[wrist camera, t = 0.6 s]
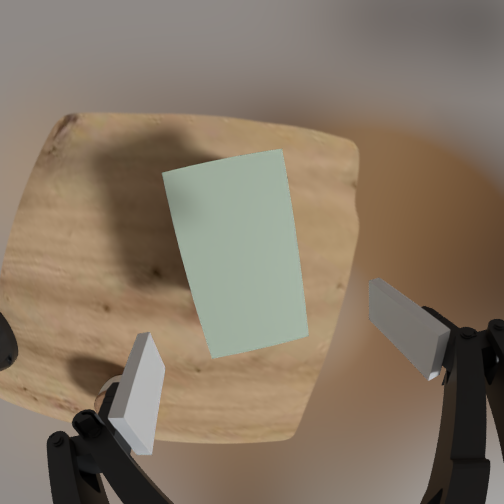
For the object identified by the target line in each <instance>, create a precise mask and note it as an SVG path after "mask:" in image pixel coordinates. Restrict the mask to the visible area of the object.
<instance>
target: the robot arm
mask: <svg viewBox="0 0 504 504" xmlns="http://www.w3.org/2000/svg"><path fill="white" fill-rule="evenodd" d="M369 319H370V321H371V322H372V323H373V324H374V325H375V326H376V327H377V328H378V329H379V330H380V331H381V332H382V333H383V334H384V335H385V336H386V337H387V338H388V339H389V340H390V341H391V342H392V343H393V344H394V345H395V346H396V347H397V348H398V349H399V350H400V351H401V352H402V354H404V356H405V357H406V358H407V359H408V360H409V361H410V362H411V363H412V364H413V365H414V366H415V367H416V368H417V369H418V370H419V371H420V372H421V373H422V374H423V376H424V377H425V378H426V379H427V380H428V381H429V380H431V379H433V378H434V377H436V376H438V375H439V374H440V371H441V368H442V366H444V367H445V368H446V373H445V376H444V380H443V382H442V385H444V397H443V407H442V416H441V424H440V431H439V437H438V443H437V448H436V454H435V458H434V463H433V468H432V472H431V476H430V480H429V484H428V487H427V490H426V492H425V494H424V496H423V499H422V501H421V503H420V504H485V501H486V495H487V489H488V483H489V475H490V461H489V460H488V459H486V458H485V449H486V395H487V398H488V401H489V405H490V408H491V411H492V414H493V418H494V422H495V425H496V429H497V433H498V437H499V442H500V446H501V451H502V456H503V461H504V321H503V320H501V319H494V320H491V321H490V322H489V324H488V328H487V330H483V331H479V332H477V331H476V330H475V329H473V328H470V327H463V328H458V327H457V326H456V325H454V324H453V323H452V322H450V321H449V320H448V319H446V318H445V317H443V316H442V315H441V314H439V313H438V312H436V311H435V310H434V309H432V308H429V307H426V306H423V307H420V306H418V305H417V304H416V303H414V302H413V301H411V300H410V299H409V298H407V297H406V296H405V295H403V294H402V293H400V292H399V291H398V290H396V289H395V288H393V287H392V286H391V285H389V284H388V283H386V282H385V281H383V280H382V279H380V278H376V279H373V280H370V281H369ZM17 356H18V346H17V342H16V339H15V336H14V334H13V331H12V329H11V327H10V326H9V324H8V322H7V321H6V319H5V318H4V317H3V315H2V314H1V313H0V371H2V370H4V369H7V368H9V367H10V366H11V365H12V364H13V363H14V362H15V360H16V359H17ZM164 374H165V366H164V364H163V362H162V360H161V357H160V355H159V353H158V350H157V348H156V346H155V343H154V341H153V339H152V336H151V334H150V332H146V333H140V334H138V335H137V337H136V340H135V342H134V345H133V348H132V350H131V353H130V355H129V358H128V361H127V363H126V366H125V369H124V372H123V374H122V377H121V380H120V382H113V383H112V384H111V385H110V386H109V388H108V389H107V391H106V393H105V396H104V397H105V398H104V399H103V401H102V404H101V407H100V410H99V412H98V414H97V413H96V412H95V411H94V410H90V409H88V410H83V411H80V412H79V413H78V414H76V415H75V417H74V418H73V421H72V426H73V428H74V429H75V430H76V431H77V432H78V434H79V435H78V436H74V437H69V436H68V435H67V434H66V433H65V432H63V431H57V432H55V433H53V434H52V435H51V436H49V438H48V440H47V458H48V468H49V478H50V486H51V493H52V499H53V504H109V501H108V498H107V495H106V492H105V489H104V486H103V483H102V480H101V477H100V473H103V475H104V476H105V478H106V479H107V481H108V482H109V484H110V485H111V487H112V488H113V490H114V491H115V493H116V494H117V495H118V497H119V498H120V499H121V501H122V502H123V503H124V504H174V503H173V502H172V501H171V500H170V499H169V498H168V497H167V496H166V495H165V494H164V493H163V492H162V491H161V490H160V489H159V488H158V487H157V486H156V485H155V483H154V482H153V481H152V480H151V479H150V478H149V477H148V476H147V474H146V473H145V472H144V471H143V470H142V469H141V467H140V466H139V465H138V464H137V463H136V461H135V460H134V459H133V458H132V457H131V455H130V452H131V448H132V450H133V451H134V452H135V453H136V454H137V455H152V449H153V442H154V435H155V428H156V421H157V415H158V408H159V402H160V396H161V390H162V385H163V379H164Z"/></svg>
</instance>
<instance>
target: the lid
mask: <svg viewBox="0 0 504 504" xmlns="http://www.w3.org/2000/svg"><path fill="white" fill-rule="evenodd" d="M162 176H163V181H164V185H165V190H166V195H167V199H168V204H169V208H170V212H171V217H172V221H173V225H174V229H175V233H176V237H177V241H178V245H179V249H180V253H181V257H182V260H183V264H184V268H185V271H186V275H187V279H188V282H189V286H190V289H191V293H192V296H193V299H194V303H195V306H196V310H197V313H198V316H199V319H200V323H201V326H202V329H203V332H204V335H205V338H206V341H207V344H208V348H209V351H210V354H211V356H212V359H213V358H218V357H223V356H228V355H233V354H238V353H242V352H247V351H252V350H256V349H260V348H264V347H269V346H273V345H277V344H281V343H285V342H288V341H292V340H296V339H300V338H303V337H307V336H309V335H308V325H307V316H306V307H305V298H304V290H303V282H302V274H301V266H300V259H299V251H298V244H297V237H296V230H295V224H294V217H293V211H292V204H291V198H290V192H289V186H288V180H287V174H286V168H285V163H284V157H283V152H282V149H277V150H270V151H264V152H258V153H252V154H246V155H240V156H235V157H230V158H225V159H220V160H215V161H210V162H205V163H201V164H196V165H192V166H188V167H183V168H179V169H175V170H171V171H167V172H163V173H162Z"/></svg>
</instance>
